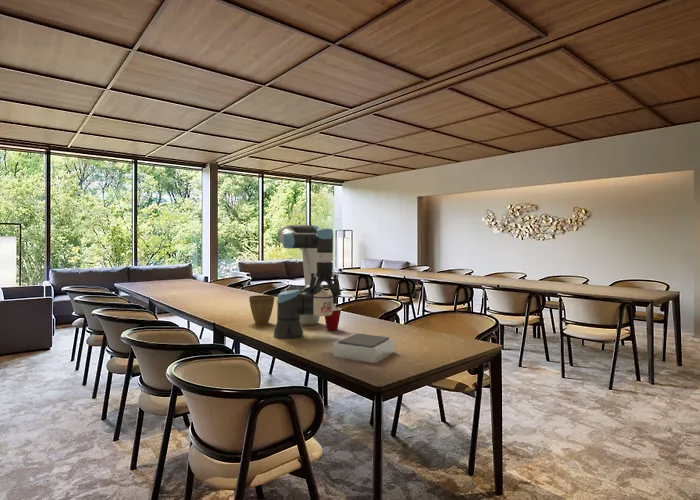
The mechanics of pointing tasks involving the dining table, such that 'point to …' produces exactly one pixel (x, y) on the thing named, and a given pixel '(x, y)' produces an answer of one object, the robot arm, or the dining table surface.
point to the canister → (309, 319)
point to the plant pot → (261, 308)
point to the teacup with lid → (322, 303)
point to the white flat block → (363, 347)
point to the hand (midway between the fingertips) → (324, 309)
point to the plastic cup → (333, 320)
